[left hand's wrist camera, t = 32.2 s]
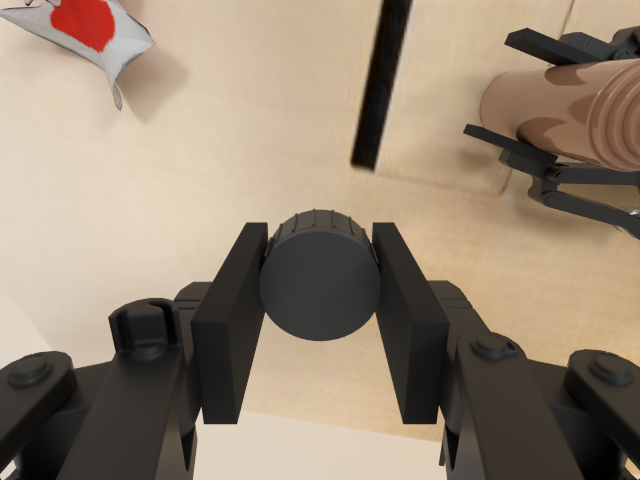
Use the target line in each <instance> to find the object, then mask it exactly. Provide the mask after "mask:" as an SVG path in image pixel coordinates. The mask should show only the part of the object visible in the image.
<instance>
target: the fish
mask: <svg viewBox="0 0 640 480" xmlns="http://www.w3.org/2000/svg"><path fill="white" fill-rule="evenodd" d="M24 1H25V4H26V5H27V6H29V5H30V4H31V2H32V1H33V0H24ZM46 1H47V2H45V3H44V4H42V5H41V6H39V7H22V8H8V9H1V10H0V16H1V17H3V18H5V19H7V20H8V21H10V22H12V23H14V24H16V25H18V26H19V27H21V28H23V29H25V30H27V31H29V32H31V33H33V34H35V35H37V36H40V37H42V38H44V39H46V40H48V41H50V42H53V43H55V44H57V45H59V46H61V47H63V48H65V49H67V50H69V51H72V52H74V53H76V54H78V55H80V56H82V57H84V58H86V59H88V60H89V61H91V62H93V63H94V64H96V65H98V66H99V67H101V68H102V69H104V70H105V71H106V74H107V77H108V81H109V84H110V87H111V90H112V93H113V97H114V101H115V105H116V107H117V108H118V109H119V110H120V111H121V108H122V102H121V97H120V92H119V90H118V88H117V87H116V85H115V83H116V81H117V79H118V76H119V75H120V74H121V72H122V71H123V70H124V69H125V68H126V67H127V66H128V64H129V63H130V62H132V61H133V60H134V59H136V58H137V57H138V56H140V55H141V54H142V53H144V52H145V51H146V50H147V49H149V48H150V47H151V46H152V45H154V44H155V42H154V41H153V39H152V37H151V35H150V34H149V32H148V30H147V29H146V28H145V27H144V26H143V25H141V24H140V23H139V22H137V21H136V20H135V19H134V18H132V16H131V15H130V14H129V13H128V12H127V11H126V10H125V9H124V8H123V6H122V5H121V4H120V3H119V2H118V1H117V0H46Z"/></svg>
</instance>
